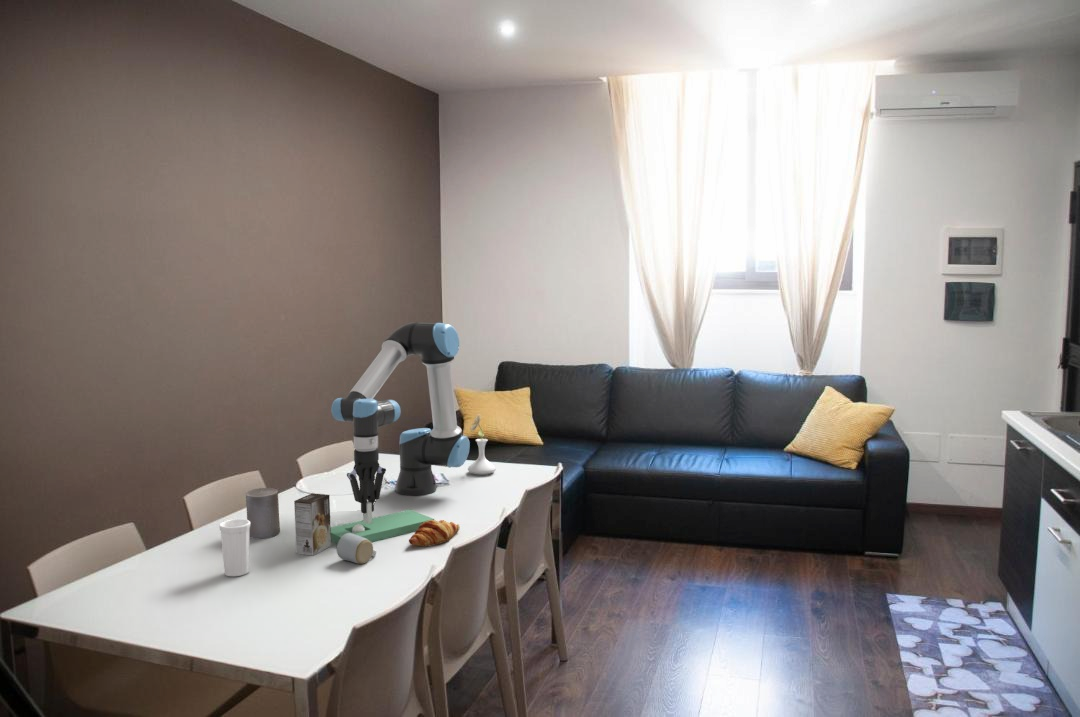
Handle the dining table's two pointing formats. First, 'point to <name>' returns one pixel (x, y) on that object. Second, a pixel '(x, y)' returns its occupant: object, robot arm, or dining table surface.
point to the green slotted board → (383, 526)
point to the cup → (235, 546)
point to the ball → (358, 528)
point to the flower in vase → (480, 453)
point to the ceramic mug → (355, 548)
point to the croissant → (434, 533)
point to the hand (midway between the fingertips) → (367, 522)
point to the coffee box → (312, 524)
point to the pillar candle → (263, 512)
